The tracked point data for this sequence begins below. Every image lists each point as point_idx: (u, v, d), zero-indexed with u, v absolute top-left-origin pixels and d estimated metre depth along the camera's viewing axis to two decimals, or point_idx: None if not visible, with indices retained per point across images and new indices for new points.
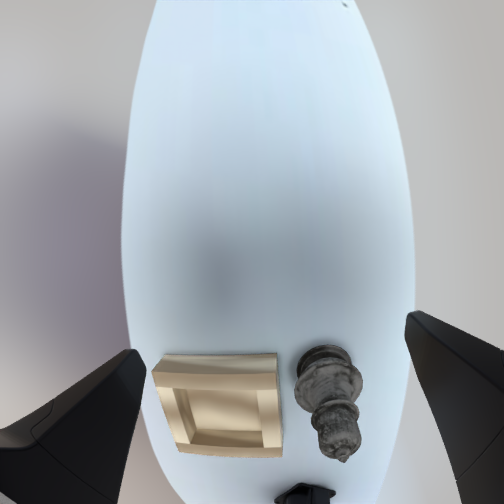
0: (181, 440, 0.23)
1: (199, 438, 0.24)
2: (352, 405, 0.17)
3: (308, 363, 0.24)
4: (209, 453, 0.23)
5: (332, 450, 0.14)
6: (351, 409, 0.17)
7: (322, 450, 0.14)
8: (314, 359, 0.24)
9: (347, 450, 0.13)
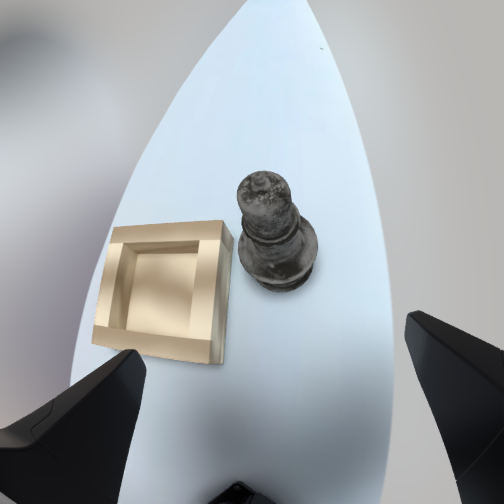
0: (101, 321, 0.21)
1: None
2: None
3: None
4: (122, 346, 0.20)
5: (248, 182, 0.14)
6: None
7: (238, 192, 0.14)
8: None
9: (266, 178, 0.14)
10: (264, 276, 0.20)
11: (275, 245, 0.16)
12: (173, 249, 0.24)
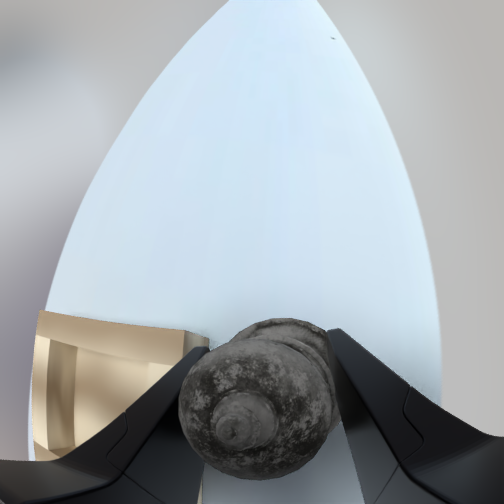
0: (40, 439, 0.10)
1: (66, 452, 0.11)
2: (315, 357, 0.07)
3: None
4: None
5: (206, 402, 0.04)
6: None
7: (180, 411, 0.04)
8: None
9: (263, 408, 0.04)
10: None
11: None
12: None
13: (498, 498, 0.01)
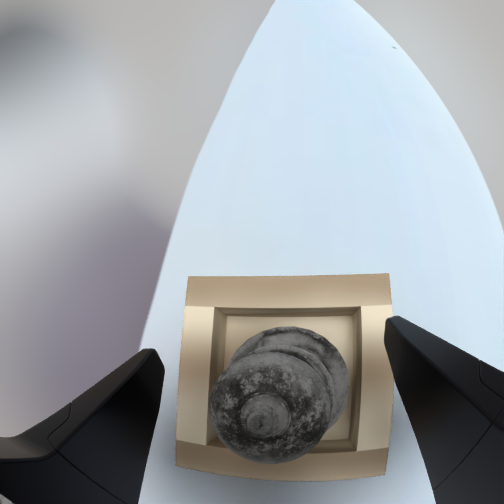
0: (190, 435, 0.12)
1: None
2: (316, 363, 0.08)
3: None
4: (239, 472, 0.11)
5: (234, 403, 0.05)
6: None
7: (212, 410, 0.05)
8: None
9: (280, 405, 0.05)
10: None
11: None
12: (299, 314, 0.15)
13: None
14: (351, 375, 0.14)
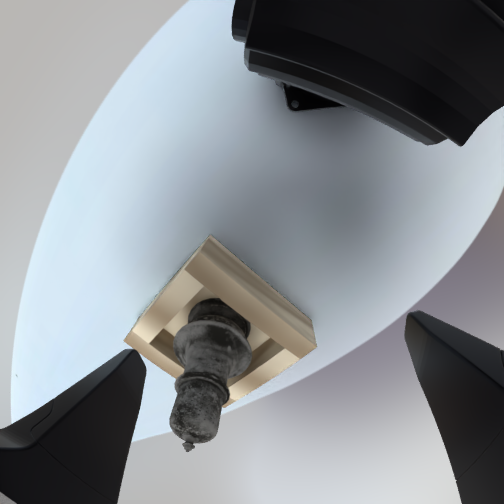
0: (288, 356, 0.20)
1: None
2: (176, 390, 0.16)
3: None
4: (280, 324, 0.19)
5: (197, 442, 0.13)
6: (179, 390, 0.16)
7: None
8: None
9: (182, 438, 0.12)
10: (241, 343, 0.19)
11: (213, 377, 0.15)
12: None
13: None
14: None
